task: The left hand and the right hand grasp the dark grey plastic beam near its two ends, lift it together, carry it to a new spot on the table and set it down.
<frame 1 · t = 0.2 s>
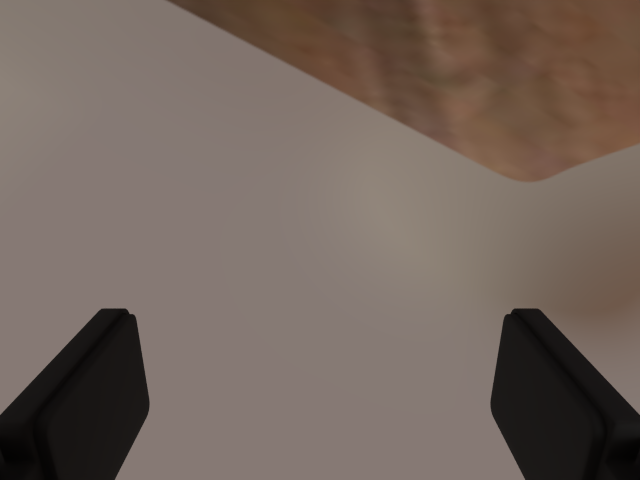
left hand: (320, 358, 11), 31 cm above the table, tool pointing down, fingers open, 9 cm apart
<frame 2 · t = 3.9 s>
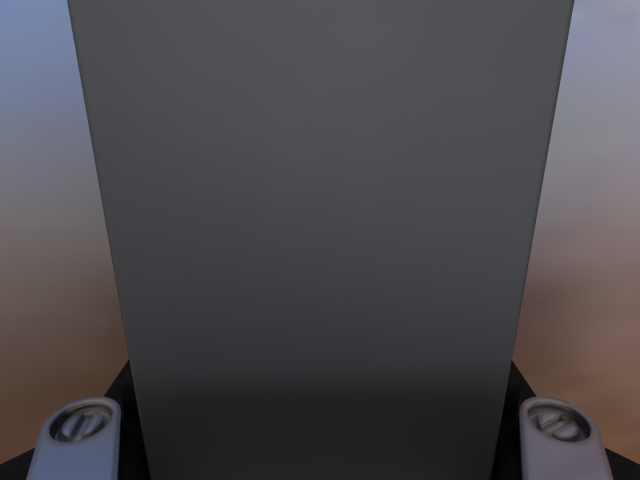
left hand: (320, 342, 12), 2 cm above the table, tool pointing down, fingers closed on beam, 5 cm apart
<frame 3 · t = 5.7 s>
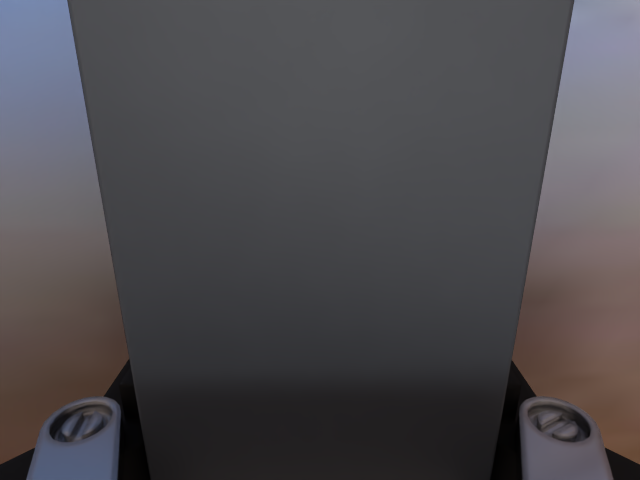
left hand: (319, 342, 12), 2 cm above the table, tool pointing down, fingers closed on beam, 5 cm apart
when the left hand's fingers open (3 cm above the table, at t = 10.5 s): beam drops 2 cm, on the table.
when the right hand's fingers open (3 cm above the table, at t = 10.5 s): beam drops 2 cm, on the table.
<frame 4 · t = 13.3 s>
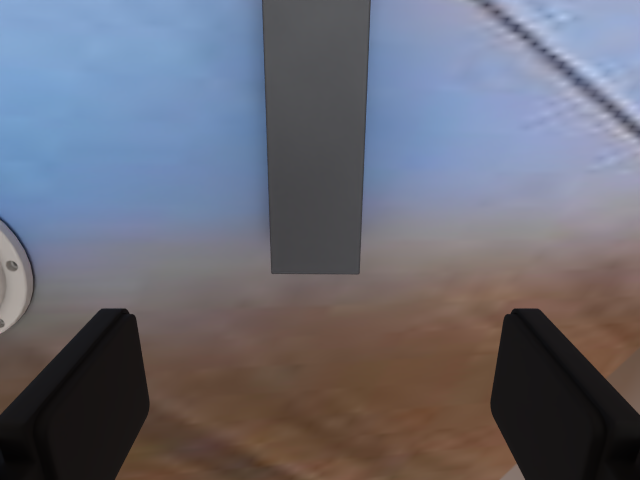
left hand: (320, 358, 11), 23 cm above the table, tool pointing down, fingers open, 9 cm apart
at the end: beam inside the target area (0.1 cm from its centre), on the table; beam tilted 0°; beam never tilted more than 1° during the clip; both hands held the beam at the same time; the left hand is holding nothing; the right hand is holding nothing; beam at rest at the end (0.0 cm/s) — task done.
